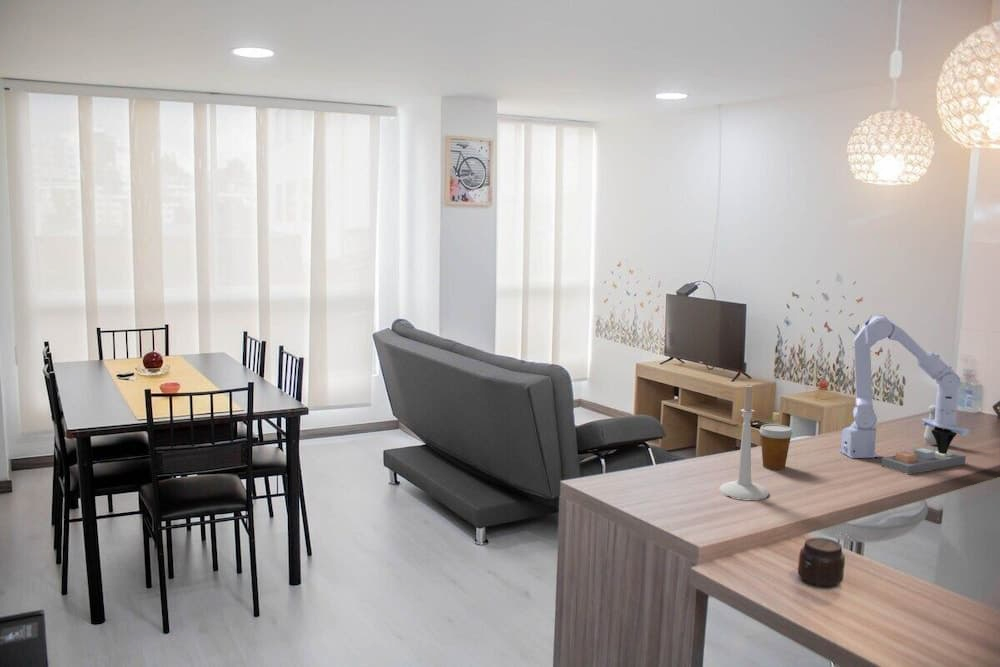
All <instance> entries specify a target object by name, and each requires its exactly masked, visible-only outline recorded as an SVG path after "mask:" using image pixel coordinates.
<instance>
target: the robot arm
mask: <svg viewBox="0 0 1000 667" xmlns="http://www.w3.org/2000/svg"><path fill="white" fill-rule="evenodd" d="M863 323H864V324H863V325H862V327H861V329H860V330H859V331H858V333H857V334H856V336H855V337H854V339H853V353H854V356H853V358H854V362H853V363H854V382H855V383H854V384H855V406H854V407H853V410H852V416H853V419H854V421H853V422H852V423H851V425H850V426H848V427H844V428H843V429H842V431H841V439H840V440H841V441H840V449H839V452H840V453H842V454H844V455H846V456H848V457H849V458H851V459H869V458H871V459H872V458H874V459H875V457H877V458H881V455H879V454H877V453H875V452H876V438H877V425H876V424H877V421H878V418H877V414H876V413H875V409H874V404H873V395H872V394H873V391H872V367H871V366H872V365H871V362H872V361H871V348H872V347H873V346H874V345H875V344H877V342H879V341H881V340H882V341H883V340H884V339H886V338H888V339H889V340H891V341H895V342H898V343H899V344H900V345H902V347H904V348H905V349H906V350H907V351H908V352H909V353H911V354H912V355H913V356H914V357H915V358H916V359H917V360H916V365H917V366H918V367H919V368H920V369H922V370H923V372H925V373H926V374H927V375H928V376H929V377H930V378H931V379H932V380H934V381H935V382H936V384H938V385H937V391H936V398H935V399H936V400H935V405H936V408H935V420H933V419H929V417H928V418H927V417H925V418H924V417H923V418H921V426H931V427H935V429H934V430H932V434H933V435H934V438H935V440H936V443H937V446H936V447H937V449H938V453H942V454H944V453H947V451H949V450H948V449H949V447H950V445H951V444H952V442H953V440H954V438H955V437H956V436H957V434H959V435H961V436H963V437H965V436H969V434H970V428H967V427H964V426H962V425H959V424H957V414H958V413H957V411H958V399H959V393H958V392H959V389H960V387H961V386H962V382H961V378H960V376H959V375H958V374H957V373H956V372H955V371H954V369H953V367H952V366H951V365H950V364H949V365H948V364H947V363H945V361H943V359H941V358H940V357H941V355H940V354H939V353H938V352H935V353H934V351H929V350H928V351H926V350H924V349H923V348H922V346H920V345H919V344H918V342H916V341H915V339H913V338H912V337H911V336H910V335H909V334H908V333H907V332H906V331H905V330H904V329H903V328H902V327H900V326H898V325H897V324H896V323H894V322H893V321H891V320H889V319H888V317H886V316H885V315H882V314H875V315H873V316H871V317H869V318H868V319H867V320H865V321H864V322H863Z"/></svg>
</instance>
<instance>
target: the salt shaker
mask: <svg viewBox="0 0 1000 667" xmlns="http://www.w3.org/2000/svg"><path fill="white" fill-rule="evenodd" d="M927 408H928V412H929V416H928V419H933V420H935V408H936V404H930V405H929V406H928V407H927ZM934 429H935V427H931V426H927V425H925V431H924V432H923V433H924V434H923V438H924V439H923V440H924V441H925V444H926V445H928V444H930V445H929V446H933V445H937V443H936V440H935V438H934V435H933V434H932V430H934Z"/></svg>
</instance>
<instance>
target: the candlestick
mask: <svg viewBox="0 0 1000 667" xmlns="http://www.w3.org/2000/svg"><path fill="white" fill-rule="evenodd" d="M752 407H753V385H750V384H748V385H744V397H743V408H742V409H740V412H741V413H742V414H741V416H742V418H743V422H742V431H741V433H742V434H741V442H740V451H739V459H738V460H739V462H738V472H737V479H736V480H731V481H728V482H725V483H723V484H721V485H720V486H719V487H718V488H719V489H718V490H720V491H721V492H722V493H724V494H725V495H727V496H730V497H734V498H740V499H750V500H755V501H757V500H756V499H762V500H764V499H763V498H765V499H767V498H768V497H769V491H768V490H767V489H766V487H764V486H763V485H760V484H758V483H756V482H753V481H752V446H751V445H752V440H751V439H752V438H751V437H752V436H751V434H752V433H751V431H752V430H751V429H752V428H751V427H752V426H751V425H752V424H751V419H752V418H753V413H755V410H754V409H752ZM720 491H719V492H720ZM727 496H726V497H727ZM767 496H768V497H767ZM766 497H767V498H766Z"/></svg>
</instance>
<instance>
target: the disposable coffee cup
mask: <svg viewBox="0 0 1000 667" xmlns="http://www.w3.org/2000/svg"><path fill="white" fill-rule="evenodd" d="M758 432H759V435H760V443H761V444H760V445H761V446H760V447H761V458H762V466H763V467H764V468H765V467H767V468H766V469H768V468H770V469H769V470H774V469H781V470H784V469H785V468H786V463H787V460H788V459H787V458H788V453H789V449H790V448H789V446H790V444H791V443H790V442H791V437H792V435H793V434H794V433H793V431H792V428H791V427H790V426H787V425H783V424H775V423H769V424H768V423H766V424H762V425H761V426H760V429H759V430H758ZM783 468H784V469H783Z"/></svg>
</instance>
